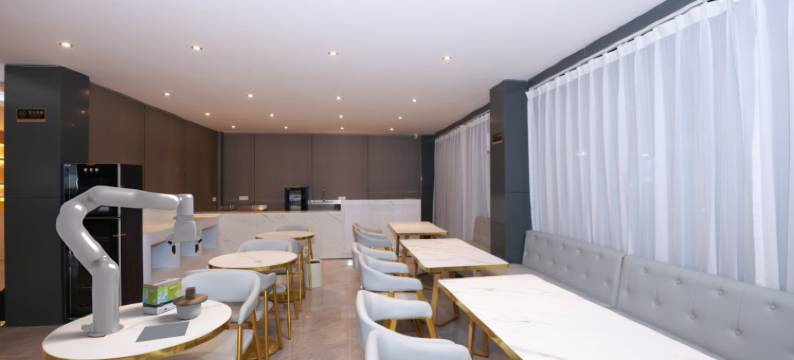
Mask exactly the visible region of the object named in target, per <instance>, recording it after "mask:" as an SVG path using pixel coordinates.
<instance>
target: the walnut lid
mask: <svg viewBox="0 0 794 360" xmlns="http://www.w3.org/2000/svg"><path fill="white" fill-rule="evenodd" d="M196 288H197V287H196V286H190V287H186V288H185V293H184V295H182V296H181V297H178V298H175V299H174V300H173V305H176V306H190V305H196V304H200V303H201V304H202V303H205V302H206V301H208V299H209V296H208V294H205V293H196Z"/></svg>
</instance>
